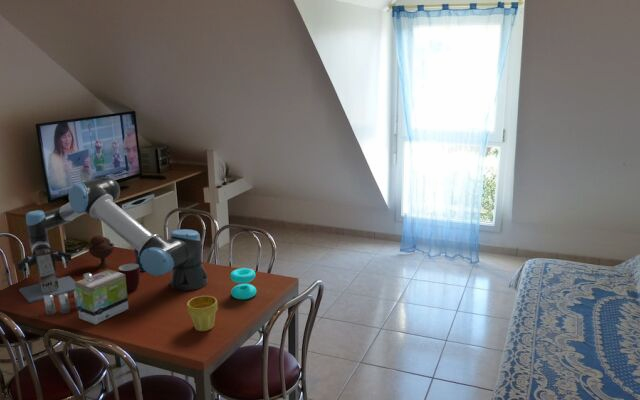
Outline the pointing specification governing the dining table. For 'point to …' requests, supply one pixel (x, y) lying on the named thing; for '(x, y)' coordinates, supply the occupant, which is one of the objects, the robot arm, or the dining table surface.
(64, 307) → the posts
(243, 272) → the donuts
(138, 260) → the soda can
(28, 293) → the felt mat
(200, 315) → the plant pot
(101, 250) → the ice cream bowl
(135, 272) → the mug
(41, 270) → the coffee box
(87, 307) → the tea box
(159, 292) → the dining table surface
